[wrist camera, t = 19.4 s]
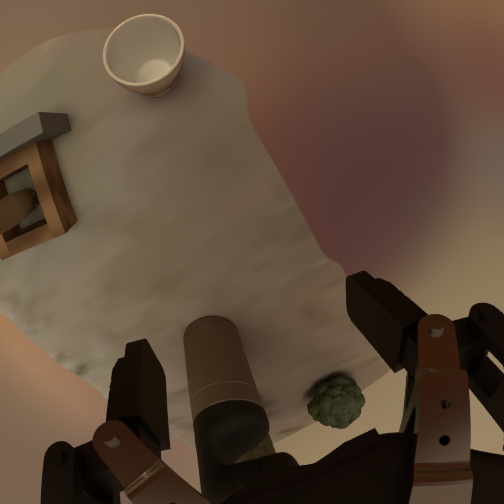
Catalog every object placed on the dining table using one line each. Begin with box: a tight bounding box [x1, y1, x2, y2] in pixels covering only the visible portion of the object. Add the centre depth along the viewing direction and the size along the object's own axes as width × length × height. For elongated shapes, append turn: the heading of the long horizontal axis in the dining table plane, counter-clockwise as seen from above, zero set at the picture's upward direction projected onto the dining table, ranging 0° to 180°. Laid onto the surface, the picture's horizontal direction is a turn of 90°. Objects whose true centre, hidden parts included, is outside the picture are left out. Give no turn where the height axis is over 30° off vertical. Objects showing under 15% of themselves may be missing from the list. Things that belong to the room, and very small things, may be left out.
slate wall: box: [0, 112, 71, 162], centre depth 25 cm, size 2×17×9 cm, turn 102°
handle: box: [0, 189, 38, 235], centre depth 25 cm, size 5×6×15 cm
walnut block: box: [0, 140, 77, 260], centre depth 30 cm, size 12×12×5 cm
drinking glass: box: [103, 14, 185, 97], centre depth 24 cm, size 7×7×15 cm
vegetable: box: [307, 376, 365, 429], centre depth 58 cm, size 12×13×15 cm
